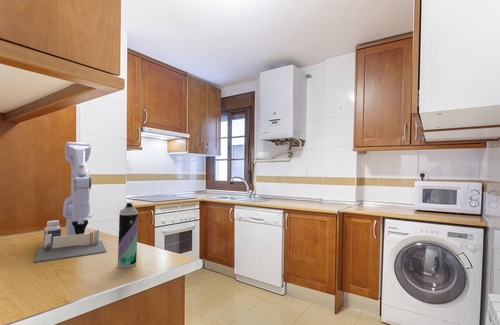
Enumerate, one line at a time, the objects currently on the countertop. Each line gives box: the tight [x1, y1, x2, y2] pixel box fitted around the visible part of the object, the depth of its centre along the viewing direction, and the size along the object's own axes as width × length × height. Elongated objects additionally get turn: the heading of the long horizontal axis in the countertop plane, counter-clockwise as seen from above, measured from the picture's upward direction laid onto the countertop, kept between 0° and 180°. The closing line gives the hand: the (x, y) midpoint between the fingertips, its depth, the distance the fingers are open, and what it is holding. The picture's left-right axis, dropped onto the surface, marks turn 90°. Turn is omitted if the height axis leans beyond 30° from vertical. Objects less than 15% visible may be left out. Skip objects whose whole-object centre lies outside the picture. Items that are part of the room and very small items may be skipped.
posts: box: [43, 229, 100, 251], centre depth 101 cm, size 2×17×6 cm, turn 125°
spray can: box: [117, 202, 139, 269], centre depth 85 cm, size 6×6×20 cm
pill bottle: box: [43, 219, 62, 247], centre depth 104 cm, size 5×5×10 cm
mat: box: [32, 240, 108, 264], centre depth 98 cm, size 18×21×1 cm
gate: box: [53, 231, 94, 248], centre depth 102 cm, size 13×1×5 cm, turn 125°
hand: (79, 238), depth 106 cm, fingers closed
